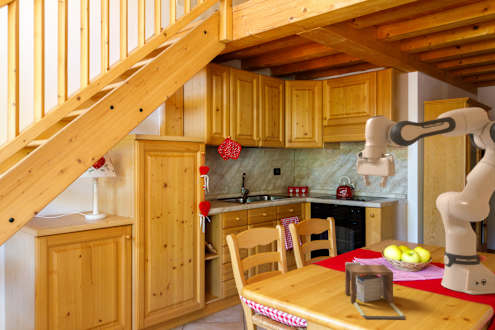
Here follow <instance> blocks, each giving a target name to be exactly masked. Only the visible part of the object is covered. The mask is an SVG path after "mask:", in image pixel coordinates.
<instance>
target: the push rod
mask: <svg viewBox="0 0 495 330" xmlns="http://www.w3.org/2000/svg"><path fill="white" fill-rule="evenodd" d="M344 265H361V262H354V261H353V262H349V261H346V262H345V264H344ZM357 276H361V275H356V293H357ZM350 280H351V273H350Z"/></svg>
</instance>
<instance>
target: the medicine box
mask: <svg viewBox="0 0 495 330" xmlns="http://www.w3.org/2000/svg"><path fill="white" fill-rule="evenodd" d="M381 299H382V296H381V277H380V275H360V276H357V292H356V300H359V301H360V302H362V303H368V302H374V301H379V300H381Z"/></svg>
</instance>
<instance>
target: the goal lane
mask: <svg viewBox="0 0 495 330" xmlns="http://www.w3.org/2000/svg"><path fill="white" fill-rule="evenodd" d="M353 305H354V307H355V309H356V310H357V311H358V313H359V314H360V316H361V317H362V318H364V316H366V314H365V313H364V311H363V310H362V308H361V307H360V305H359V304H358V303H357V302H356V303H353ZM389 306H390V307H392V309H393V310H394V311H395V312H396V313H397V314H398V316H404V318H406V317H405V314H404V313H403V312H402V311H401V310H400V309H399V308H398V307H397V305H395V304H394V302H393V303H390V304H389Z"/></svg>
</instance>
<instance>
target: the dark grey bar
mask: <svg viewBox="0 0 495 330" xmlns="http://www.w3.org/2000/svg"><path fill="white" fill-rule="evenodd" d="M363 318H364V319H365V320H406V317H404V316H400V315H398V316H397V315H365V316H364V317H363Z"/></svg>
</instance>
